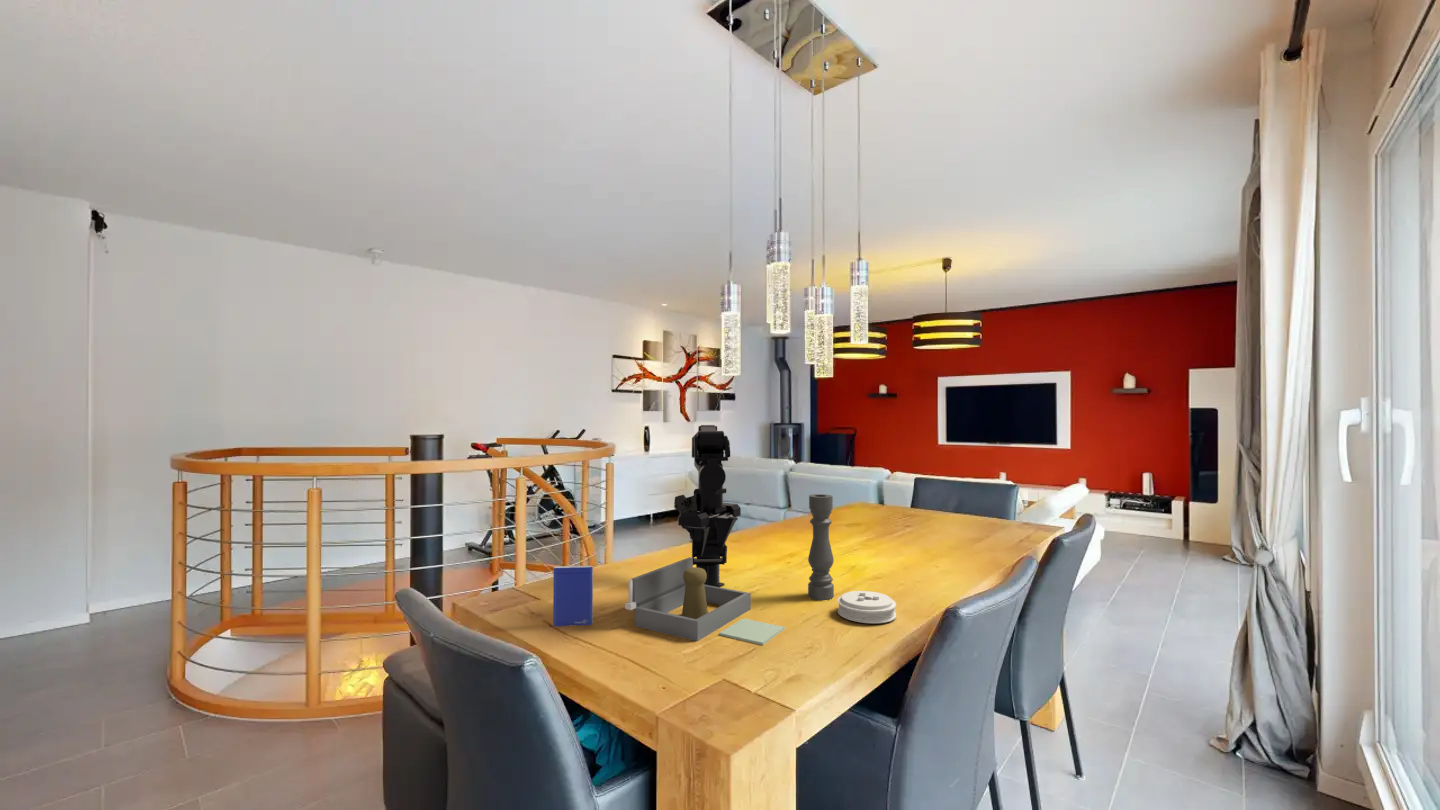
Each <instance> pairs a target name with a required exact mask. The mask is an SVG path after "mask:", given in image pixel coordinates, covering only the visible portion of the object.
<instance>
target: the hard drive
mask: <svg viewBox="0 0 1440 810" xmlns="http://www.w3.org/2000/svg"><path fill="white" fill-rule="evenodd" d="M593 569H594V565H565V566H563V565H562V566H561V565H560V566H559V565H557V566H553V582H552V583H553V598H552V599H553V604H552V605H553V607H552V608H553V613H552V614H553V616H552V617H553V620H552V626H553V627H573V625H577V626H592V625H593V623H594V621H593V620H594V616H593V615H594V611H593V610H594V596H593V595H594V590H593V589H594V574H593V573H594V570H593ZM570 625H572V626H570Z"/></svg>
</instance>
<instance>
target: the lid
mask: <svg viewBox="0 0 1440 810" xmlns="http://www.w3.org/2000/svg"><path fill="white" fill-rule="evenodd" d="M837 603H838V609H837V614H838V615H839V616H841V617H842V618H844V619H846V620H848V621H853V622H857V623H860V624H861V623H863V624H884V623H888V622H889V623H890V622H892V621H894V620H895V619H896V618H897V613H896V608H897V603H896V601H895V600H893V599H892V597H891V596H888V595H887V594H884V593H881V592H878V591H877V592H876V591H870V590H869V591H868V590H854V591H852V590H851V591H848V592H845V593H843V594H842V595H840V596H839V597H838V598H837Z"/></svg>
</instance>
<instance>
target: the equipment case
mask: <svg viewBox="0 0 1440 810" xmlns="http://www.w3.org/2000/svg"><path fill="white" fill-rule="evenodd" d="M693 567H694V565H693V558H692V556H691V557H686V558H684V559H681V560H678V561H676V562H673V563H670V564H668V565H665V566H661V567H659V568H657V569H654V570H651V571H648V572H646V573H642V574H641V575H637V576H635V577H632V578H630V579H628V601H627V602H624V609H625V610H628V611H629V610H630V611H633V610H634V627H637V628H641V629H643V630H649V631H653V632H657V633H661V634H666V635H669V636H674V637H678V638H682V639H686V640H690V641H694V642H699V641H701V640H702V639H705V638H706V637H707V636H709V635H710V634H713V633H714V632H715V631H718V630H719V629H720V628H722V627H724V626H725V625H727V624H729V623H730V622H732V621H734V620H735V619H737V618H739V617H740V616H742V615H744V614H745V613H748V612H749V611H750V610H751V608H752V607H751V604H752V603H751V601H752V600H751V599H752V598H751V592H747V591H743V590H736V589H732V588H726V587H715V586H709V585H704V587H705V594H706V602H707V603H708V604H714V605H719V607H717V608H714V609H713V610H710V611H709V612H708V613H707V614H705V615H703V616H701V617H699V618H698V619H693V618H688V617H684V616H682V615H678V614H673V613H670V612H672V611H674V610H676V609H678V608H680V607H683V602H684V594H685V586H686V583H685V582H684V579H683V574H684V571H685V570H686V569H688V568H693Z"/></svg>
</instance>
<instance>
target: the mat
mask: <svg viewBox="0 0 1440 810" xmlns="http://www.w3.org/2000/svg"><path fill="white" fill-rule="evenodd" d="M785 629H786V627H785V626H782V625H776V624H772V623H767V622H762V621H757V620H753V619H749V618H741V619H740V620H738V621H737V622H735V623H733V624H732V625H729V626H728V627H726V628H724V629H723V630H722V631H720V632H718V633H719V634H718V635H719V636H722V637H725V638H726V637H727V638H730V639H735V640H738V641H742V642H747V643H750V644H756V645H759V646H764V645H765V644H767V643H769V642H770V641H771V640H772V639H774V638H775V637H776V636H777V635H779V634H781V633H782V632H783V631H784V630H785Z"/></svg>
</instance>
